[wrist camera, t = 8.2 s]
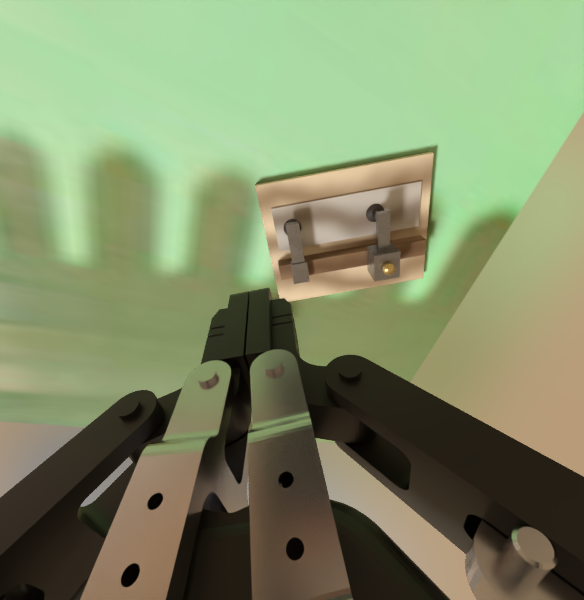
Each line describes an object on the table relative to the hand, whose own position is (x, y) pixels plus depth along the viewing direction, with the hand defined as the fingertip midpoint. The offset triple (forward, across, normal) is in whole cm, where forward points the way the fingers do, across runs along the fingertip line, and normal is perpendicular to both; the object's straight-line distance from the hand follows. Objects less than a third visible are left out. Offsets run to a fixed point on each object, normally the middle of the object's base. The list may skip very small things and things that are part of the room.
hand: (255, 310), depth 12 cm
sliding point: (+32, -14, +12) cm, 37 cm away
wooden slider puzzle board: (+34, -11, +12) cm, 37 cm away
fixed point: (+32, -3, +12) cm, 34 cm away
